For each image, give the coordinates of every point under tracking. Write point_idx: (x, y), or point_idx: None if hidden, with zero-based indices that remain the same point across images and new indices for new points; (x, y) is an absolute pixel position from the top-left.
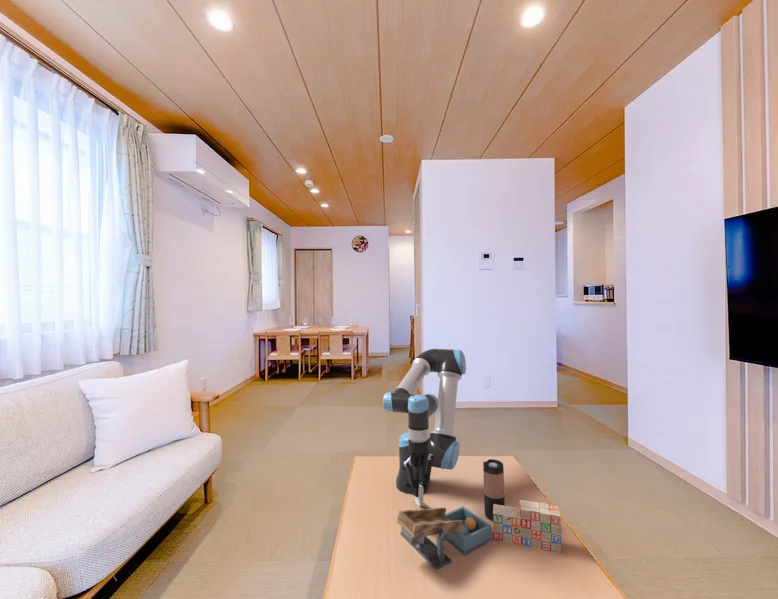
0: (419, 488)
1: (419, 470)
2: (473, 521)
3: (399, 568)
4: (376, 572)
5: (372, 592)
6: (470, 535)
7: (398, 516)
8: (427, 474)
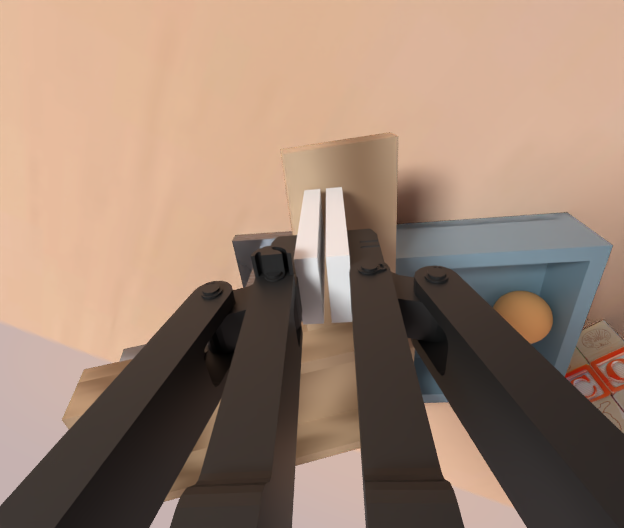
0: (304, 323)
1: (359, 408)
2: (530, 343)
3: (154, 310)
4: (72, 291)
5: (55, 341)
6: (433, 398)
7: (75, 396)
8: (454, 400)
